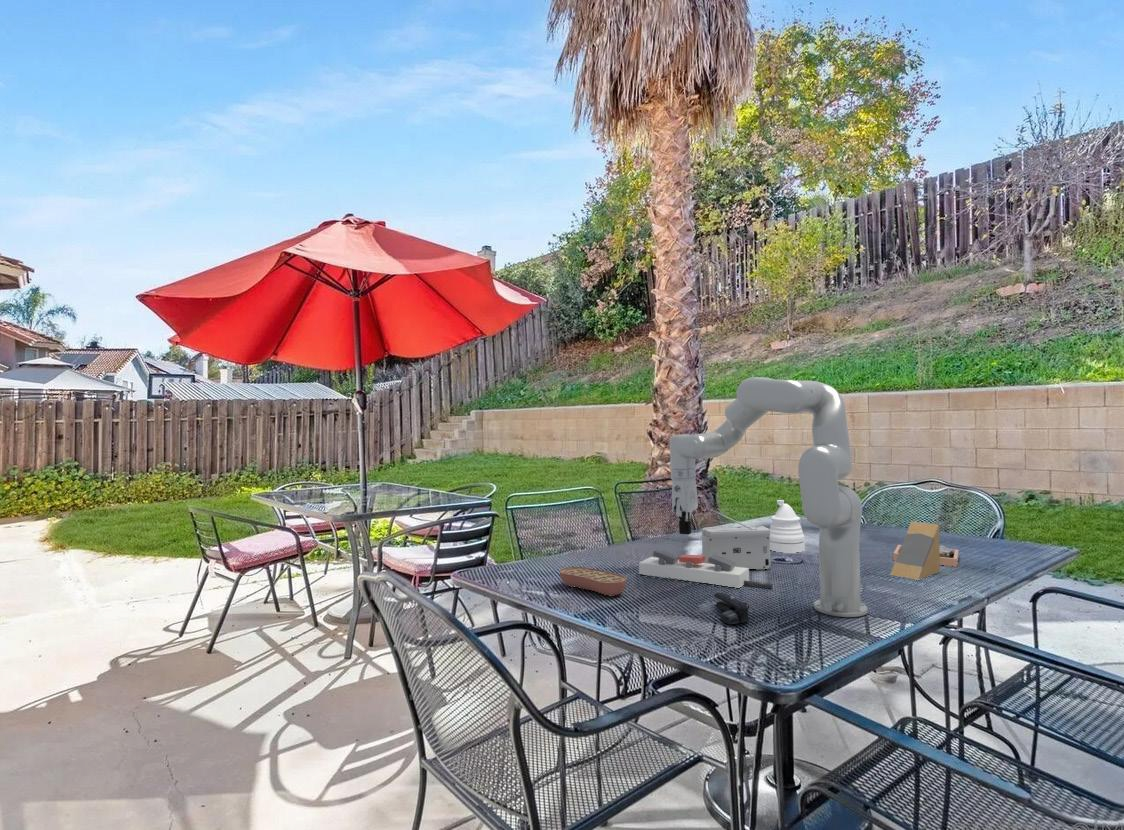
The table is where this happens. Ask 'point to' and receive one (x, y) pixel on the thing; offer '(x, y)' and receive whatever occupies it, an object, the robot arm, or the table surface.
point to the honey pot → (786, 531)
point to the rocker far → (665, 556)
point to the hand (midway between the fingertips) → (685, 533)
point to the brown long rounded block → (593, 580)
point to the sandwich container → (919, 552)
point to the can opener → (732, 609)
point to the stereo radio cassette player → (738, 545)
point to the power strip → (698, 572)
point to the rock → (946, 552)
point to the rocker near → (721, 562)
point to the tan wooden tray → (943, 560)
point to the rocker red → (692, 558)
